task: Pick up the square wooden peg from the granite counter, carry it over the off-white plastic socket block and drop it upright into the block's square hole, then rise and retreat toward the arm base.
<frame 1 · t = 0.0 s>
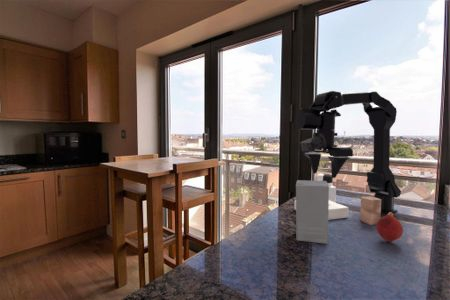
hand: (323, 175, 81), 15 cm above the counter, tool pointing down, fingers open, 9 cm apart
peg: (369, 222, 78), on the counter
medicine bottle: (324, 202, 101), on the counter
socket block: (319, 213, 86), on the counter
skincare box: (310, 239, 65), on the counter
onion: (388, 242, 63), on the counter
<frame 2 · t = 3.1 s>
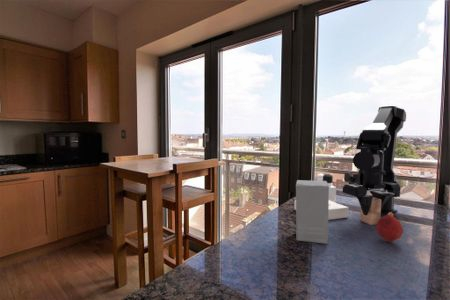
hand: (370, 214, 78), 3 cm above the counter, tool pointing down, fingers closed on peg, 4 cm apart
peg: (369, 222, 78), on the counter, touching gripper
everything else where it was.
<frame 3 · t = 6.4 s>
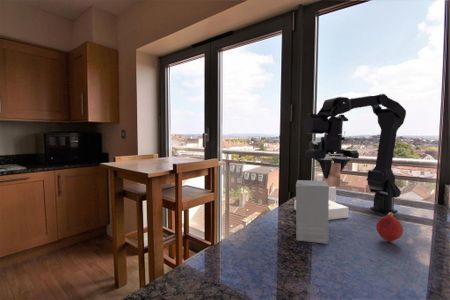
hand: (331, 178, 83), 13 cm above the counter, tool pointing down, fingers closed on peg, 4 cm apart
peg: (330, 185, 84), point 11 cm above the counter, touching gripper
everything else where it was.
when the fingers open (4 cm above the counter, at t = 9.6 s): peg drops 2 cm, resting in socket block.
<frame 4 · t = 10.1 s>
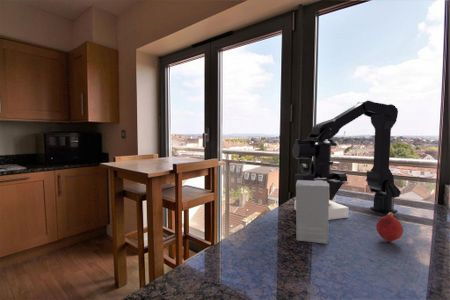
hand: (320, 201, 86), 4 cm above the counter, tool pointing down, fingers open, 9 cm apart
peg: (320, 213, 86), resting in socket block
everything else where it was.
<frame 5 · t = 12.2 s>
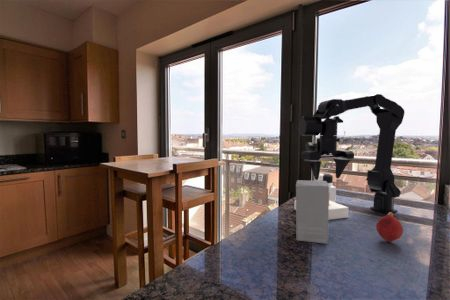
hand: (327, 178, 85), 13 cm above the counter, tool pointing down, fingers open, 9 cm apart
nothing on the counter moved.
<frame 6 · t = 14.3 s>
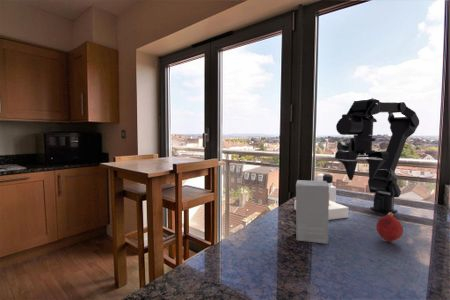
hand: (360, 179, 83), 13 cm above the counter, tool pointing down, fingers open, 9 cm apart
nothing on the counter moved.
at the end: peg 0.1 cm off-centre on the socket block, point 0.0 cm above the socket block's base; peg tilted 0°; the gripper is holding nothing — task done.
